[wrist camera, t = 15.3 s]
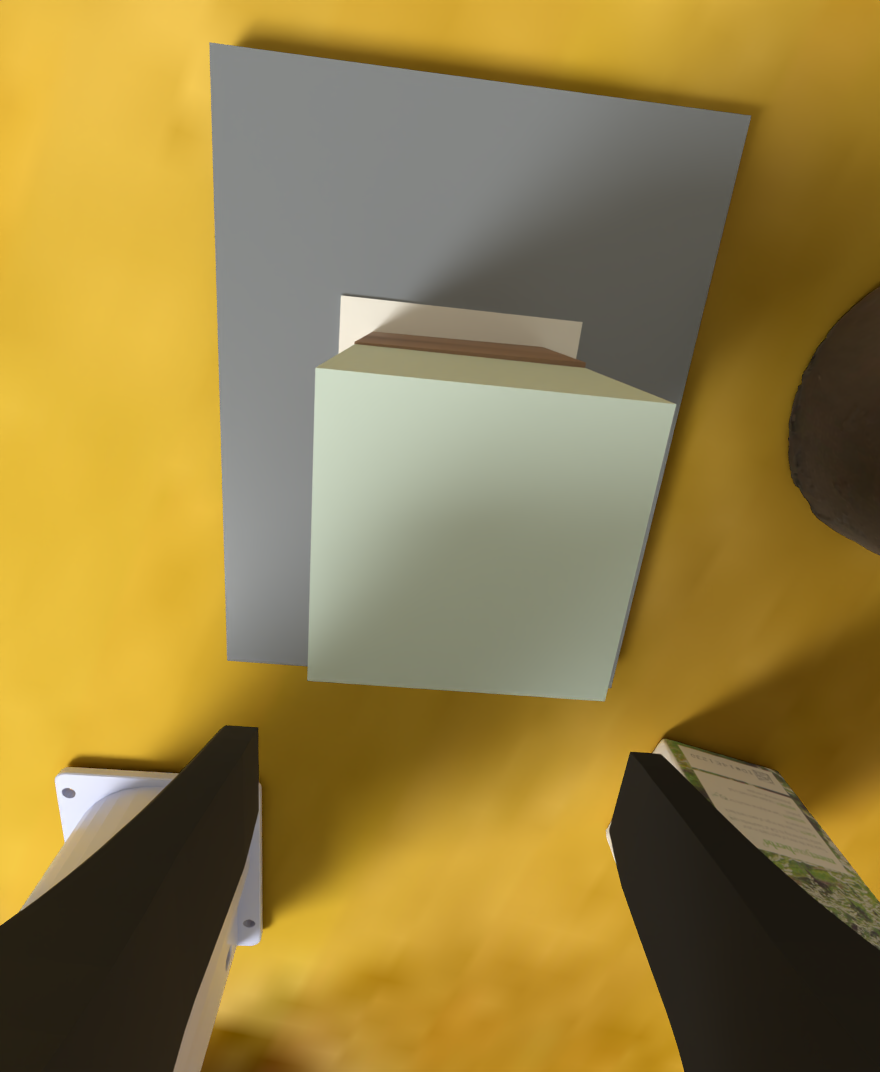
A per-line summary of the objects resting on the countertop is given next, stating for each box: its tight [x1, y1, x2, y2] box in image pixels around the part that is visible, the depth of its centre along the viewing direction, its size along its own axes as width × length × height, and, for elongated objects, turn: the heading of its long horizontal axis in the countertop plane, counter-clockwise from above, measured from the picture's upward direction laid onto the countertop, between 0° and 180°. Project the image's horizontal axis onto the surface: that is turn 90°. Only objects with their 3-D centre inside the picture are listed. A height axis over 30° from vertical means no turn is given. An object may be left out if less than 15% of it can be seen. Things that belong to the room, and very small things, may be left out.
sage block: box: [307, 344, 676, 701], centre depth 11 cm, size 5×5×5 cm
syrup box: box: [606, 739, 880, 950], centre depth 19 cm, size 6×6×14 cm
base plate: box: [210, 43, 751, 688], centre depth 19 cm, size 18×14×1 cm
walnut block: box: [354, 332, 586, 368], centre depth 16 cm, size 5×5×5 cm
